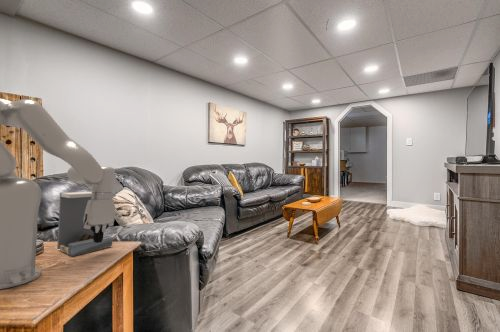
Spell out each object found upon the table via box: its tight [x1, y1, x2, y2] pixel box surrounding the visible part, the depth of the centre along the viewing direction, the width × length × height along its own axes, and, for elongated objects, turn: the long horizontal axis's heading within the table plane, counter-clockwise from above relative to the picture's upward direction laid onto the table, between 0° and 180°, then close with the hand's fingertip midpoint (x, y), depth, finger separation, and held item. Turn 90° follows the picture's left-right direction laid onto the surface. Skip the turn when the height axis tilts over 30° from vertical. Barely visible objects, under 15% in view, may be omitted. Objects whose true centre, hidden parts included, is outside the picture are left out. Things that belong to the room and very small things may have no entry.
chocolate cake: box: [75, 231, 93, 242], centre depth 100 cm, size 10×7×12 cm
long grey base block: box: [59, 235, 113, 257], centre depth 99 cm, size 12×15×4 cm
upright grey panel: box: [57, 191, 94, 249], centre depth 102 cm, size 10×15×24 cm, turn 148°
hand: (97, 241), depth 91 cm, fingers closed
